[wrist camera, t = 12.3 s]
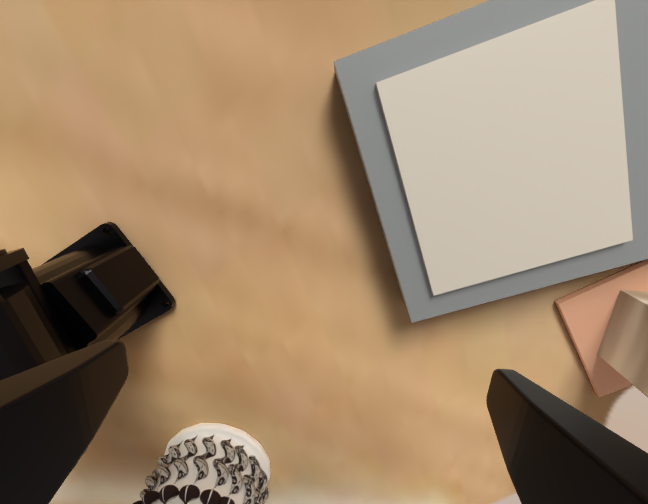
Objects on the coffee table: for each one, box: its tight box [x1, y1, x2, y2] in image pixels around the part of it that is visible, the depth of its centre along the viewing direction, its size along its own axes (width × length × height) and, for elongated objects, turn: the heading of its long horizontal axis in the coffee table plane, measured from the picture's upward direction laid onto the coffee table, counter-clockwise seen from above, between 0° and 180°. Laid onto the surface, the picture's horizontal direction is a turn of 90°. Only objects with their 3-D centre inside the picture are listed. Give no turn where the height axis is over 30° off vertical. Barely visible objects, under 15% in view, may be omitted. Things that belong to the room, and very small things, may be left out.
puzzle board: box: [334, 0, 648, 323], centre depth 17 cm, size 21×14×3 cm, turn 109°
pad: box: [555, 259, 648, 398], centre depth 22 cm, size 8×8×1 cm
